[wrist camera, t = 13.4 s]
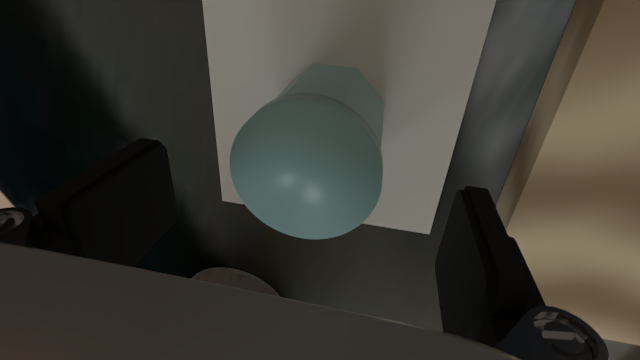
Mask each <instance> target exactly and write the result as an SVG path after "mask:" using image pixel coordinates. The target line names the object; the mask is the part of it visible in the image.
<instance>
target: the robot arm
mask: <svg viewBox="0 0 640 360" xmlns="http://www.w3.org/2000/svg"><path fill="white" fill-rule="evenodd" d="M34 203H35V205H36V208H37V210H38V212H39V213H38V214H37V215H35V216H34V217H33V216H32V214H31V212H30V211H28V210H27V209H24V208H15V207H11V208H3V209H0V360H608V356H609V353H608V350H607V347H606V344H605V343H604V341H603V340H602V338H601V337H600V335H599V334H598V333H597V332H596V331H595V330H594V329H593V328H592V327H591V326H590V325H589V324H587V323H586V322H585V321H583V320H582V319H580V318H579V317H577V316H575V315H574V314H572V313H570V312H568V311H566V310H563V309H560V308H557V307H552V306H546V304H545V302H544V300H543V298H542V296H541V294H540V291H539V289H538V287H537V285H536V283H535V281H534V278H533V276H532V274H531V272H530V270H529V268H528V266H527V263H526V261H525V259H524V257H523V255H522V253H521V250H520V248H519V246H518V244H517V242H516V240H515V239H514V238H513V237H510V236H508V234H507V232H506V229H505V227H504V225H503V223H502V220H501V218H500V216H499V214H498V211H497V209H496V207H495V205H494V202H493V200H492V198H491V195H490V193H489V191H488V189H485V188H478V187H472V186H466V187H465V188H464V190H458V191H457V192H456V195H455V199H454V202H453V205H452V208H451V212H450V215H449V218H448V221H447V225H446V228H445V231H444V234H443V238H442V241H441V244H440V248H439V251H438V254H437V257H436V262H435V272H436V280H437V287H438V295H439V302H440V310H441V317H442V325H443V332H441V331H437V330H432V329H428V328H424V327H420V326H416V325H412V324H407V323H403V322H399V321H394V320H389V319H384V318H379V317H375V316H370V315H365V314H360V313H355V312H351V311H346V310H341V309H336V308H331V307H327V306H322V305H317V304H312V303H307V302H302V301H298V300H293V299H288V298H283V297H278V296H273V295H268V294H263V293H258V292H253V291H248V290H243V289H239V288H234V287H229V286H224V285H219V284H214V283H209V282H204V281H199V280H194V279H189V278H184V277H179V276H174V275H169V274H164V273H159V272H154V271H149V270H144V269H139V268H134V266H135V264H136V263H137V262H138V261H139V260H140V259H141V258H142V257H143V256H144V255H145V254H146V253H147V252H148V251H149V250H150V248H151V247H152V246H153V245H154V244H155V243H156V242H157V241H158V240H159V239H160V238H161V237H162V236H163V235H164V234H165V232H166V231H167V230H168V229H169V228H170V227H171V226H172V225H173V224H174V223H175V221H176V219H177V207H176V201H175V195H174V189H173V183H172V178H171V172H170V166H169V160H168V154H167V150H166V147H165V146H163V145H162V143H161V142H160V141H158V140H151V139H144V138H140V139H138V140H136V141H135V142H133V143H131V144H130V145H128V146H126V147H125V148H123V149H121V150H120V151H118V152H116V153H114V154H113V155H111V156H109V157H108V158H106V159H104V160H103V161H101V162H99V163H98V164H96V165H94V166H93V167H91V168H89V169H88V170H86V171H84V172H83V173H81V174H79V175H78V176H76V177H74V178H72V179H71V180H69V181H67V182H66V183H64V184H62V185H61V186H59V187H57V188H56V189H54V190H52V191H51V192H49V193H47V194H46V195H44V196H42V197H41V198H39V199H37V200H36V201H34Z"/></svg>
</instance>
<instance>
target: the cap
mask: <svg viewBox="0 0 640 360" xmlns="http://www.w3.org/2000/svg"><path fill="white" fill-rule="evenodd" d="M384 104H385V103H384V101H383V100H382V99H381V98H380V96H379V95H378V94H377V93H376V91H375V90H374V89H373V87H372V86H371V85H370V84H369V82H368V81H367V80H366V78H365V77H364V76H363V75H362V73H361V72H360V71H359V69H358V68H350V67H341V66H331V65H321V64H313V65H311V66H310V67H309V68H308V69H307V70H306V71H305V72H304V73H303V74H301V75H300V76H299V77H298V78H297V79H296V80H295V81H294V82H293V83H291V84H290V85H289V86H288V87H287V88H286V89H285V90H284V91H283V92H282V93H281V94H280V95H279V96H278V97H277V98H276V99H274V100H272V101H270V102H269V103H267V104H265V105H264V106H263V107H261V108H260V109H259V110H258V111H257V112H256V113H255V114H254V115H253V116H252V117H251V118H250V119H249V120H248V121H247V122H246V123H245V124H244V125H243V126H242V127H241V129H240V130H239V132H238V133H237V135H236V137H235V139H234V141H233V144H232V148H231V153H230V172H231V177H232V181H233V184H234V187H235V189H236V191H237V193H238V195H239V197H240V198H241V200H242V201H243V203H244V204H245V206H246V207H247V208H248V209H249V210H250V211H251V212H252V213H253V214H254V215H255V216H256V217H257V218H258V219H259V220H261V221H262V222H263V223H265V224H266V225H268V226H270V227H271V228H273V229H275V230H277V231H279V232H282V233H284V234H287V235H290V236H294V237H298V238H304V239H327V238H332V237H337V236H340V235H343V234H345V233H347V232H349V231H351V230H353V229H355V228H356V227H358V226H359V225H360V224H362V223H363V222H364V221H365V220H366V219H367V218H368V217H369V215H370V214H371V213H372V211H373V210H374V208H375V207H376V205H377V202H378V200H379V197H380V193H381V189H382V178H383V156H382V151H381V142H382V130H383V117H384Z"/></svg>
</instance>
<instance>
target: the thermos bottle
mask: <svg viewBox="0 0 640 360" xmlns="http://www.w3.org/2000/svg"><path fill="white" fill-rule="evenodd" d="M191 279H194V280H199V281H204V282H209V283H214V284H219V285H224V286H229V287H234V288H239V289H243V290H248V291H253V292H258V293H263V294H268V295H273V296H278V297H280V296H279V294H278V293H277V292H276V291H275V290H274V289H273V288H272V287H271V286H270V285H268V284H267V283H266V282H265V281H263V280H261V279H260V278H258V277H256V276H254V275H252V274H250V273H247V272H245V271H242V270H238V269H234V268H226V267H215V268H209V269H205V270H203V271H201V272H199V273H197V274H196V275H194V276H193V277H192V278H191Z"/></svg>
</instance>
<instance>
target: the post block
mask: <svg viewBox="0 0 640 360" xmlns="http://www.w3.org/2000/svg"><path fill="white" fill-rule="evenodd" d="M496 209H497V211H498V214H499V216H500V218H501V220H502V223H503V225H504V227H505V229H506V232H507V234H508V236H510V237H513V238H514V239H515V240H516V242H517V244H518V246H519V248H520V250H521V253H522V255H523V257H524V259H525V261H526V263H527V266H528V268H529V270H530V272H531V274H532V276H533V278H534V281H535V283H536V285H537V287H538V289H539V291H540V294H541V296H542V298H543V300H544V302H545V304H546V306H552V307H557V308H560V309H563V310H566V311H568V312H570V313H572V314H574V315H575V316H577V317H579V318H580V319H582V320H583V321H585V322H586V323H587V324H589V325H590V326H591V327H592V328H593V329H594V330H595V331H596V332H597V333H598V334H599V335H600V337H601V338H602V339H607V340H613V341H618V342H623V343H629V344H634V345H639V346H640V0H576V2H575V5H574V8H573V10H572V13H571V15H570V18H569V20H568V23H567V25H566V28H565V31H564V33H563V36H562V38H561V41H560V43H559V46H558V48H557V51H556V54H555V56H554V59H553V61H552V64H551V66H550V69H549V71H548V74H547V77H546V79H545V82H544V84H543V87H542V89H541V92H540V94H539V97H538V100H537V102H536V105H535V107H534V110H533V112H532V115H531V117H530V120H529V123H528V125H527V128H526V130H525V133H524V135H523V138H522V140H521V143H520V146H519V148H518V151H517V153H516V156H515V158H514V161H513V163H512V166H511V169H510V171H509V174H508V176H507V179H506V181H505V184H504V186H503V189H502V192H501V194H500V197H499V199H498V202H497V204H496Z"/></svg>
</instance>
